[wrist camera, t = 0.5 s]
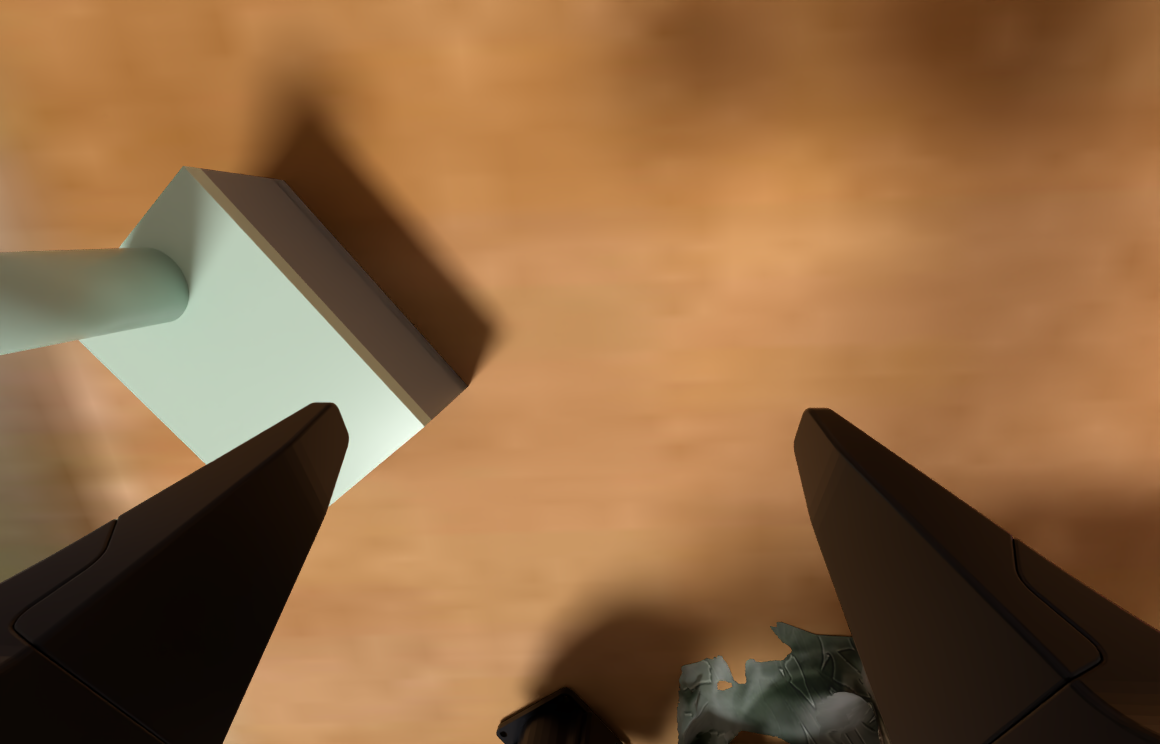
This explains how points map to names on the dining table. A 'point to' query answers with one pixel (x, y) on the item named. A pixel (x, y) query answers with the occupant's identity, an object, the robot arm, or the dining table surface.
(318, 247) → the parts tub
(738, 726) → the rose bouquet
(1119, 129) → the dining table surface
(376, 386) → the pale green stand
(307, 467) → the robot arm
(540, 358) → the dining table surface
